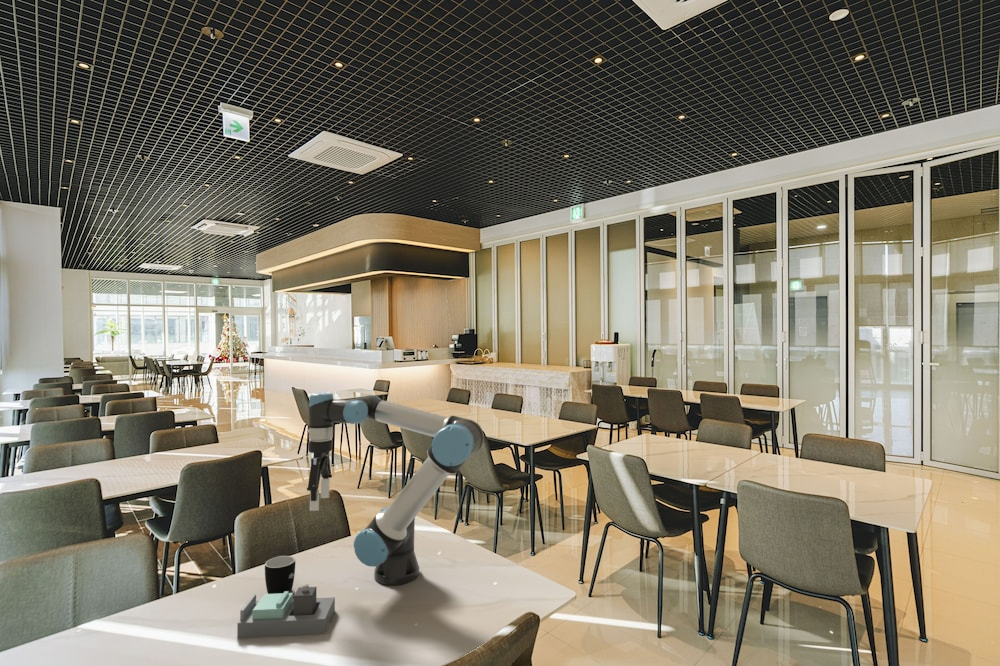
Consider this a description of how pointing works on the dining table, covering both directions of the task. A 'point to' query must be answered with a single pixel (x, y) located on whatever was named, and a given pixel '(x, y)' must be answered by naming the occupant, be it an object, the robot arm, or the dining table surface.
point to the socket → (285, 621)
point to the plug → (304, 601)
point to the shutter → (273, 605)
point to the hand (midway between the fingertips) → (319, 503)
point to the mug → (279, 574)
